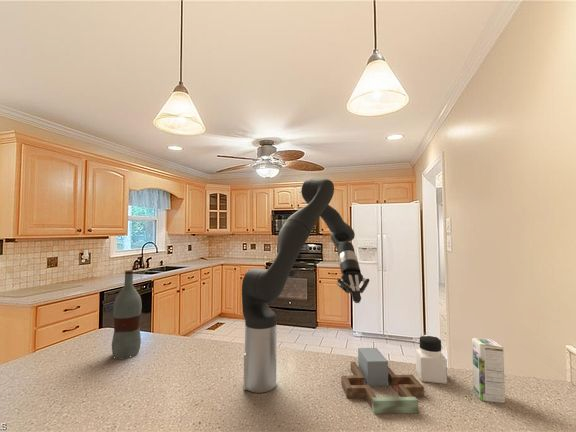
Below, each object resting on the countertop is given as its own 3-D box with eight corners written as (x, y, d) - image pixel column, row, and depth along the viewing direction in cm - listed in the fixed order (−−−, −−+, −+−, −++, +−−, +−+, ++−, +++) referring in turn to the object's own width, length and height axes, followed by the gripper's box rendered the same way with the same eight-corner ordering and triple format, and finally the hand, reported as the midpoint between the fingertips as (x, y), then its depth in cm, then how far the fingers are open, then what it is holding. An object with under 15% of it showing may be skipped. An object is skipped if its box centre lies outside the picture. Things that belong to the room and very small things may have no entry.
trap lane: (353, 414, 71) (353, 401, 71) (335, 370, 94) (335, 360, 94) (438, 412, 72) (438, 399, 72) (399, 369, 95) (399, 359, 95)
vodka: (136, 347, 113) (139, 268, 114) (143, 354, 106) (146, 270, 108) (108, 353, 106) (111, 270, 108) (114, 362, 99) (117, 273, 101)
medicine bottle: (447, 384, 85) (446, 342, 86) (421, 381, 87) (420, 340, 88) (440, 373, 92) (439, 334, 93) (416, 370, 94) (415, 332, 94)
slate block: (367, 386, 84) (367, 361, 85) (358, 370, 94) (358, 348, 95) (388, 386, 85) (387, 361, 85) (376, 369, 94) (376, 347, 95)
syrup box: (472, 389, 82) (470, 337, 83) (495, 392, 81) (493, 338, 82) (481, 401, 77) (479, 344, 78) (506, 404, 76) (504, 346, 76)
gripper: (334, 258, 117) (341, 296, 104) (366, 258, 117) (378, 295, 104) (331, 270, 122) (338, 307, 109) (363, 269, 122) (373, 307, 109)
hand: (357, 301), depth 106 cm, fingers closed
